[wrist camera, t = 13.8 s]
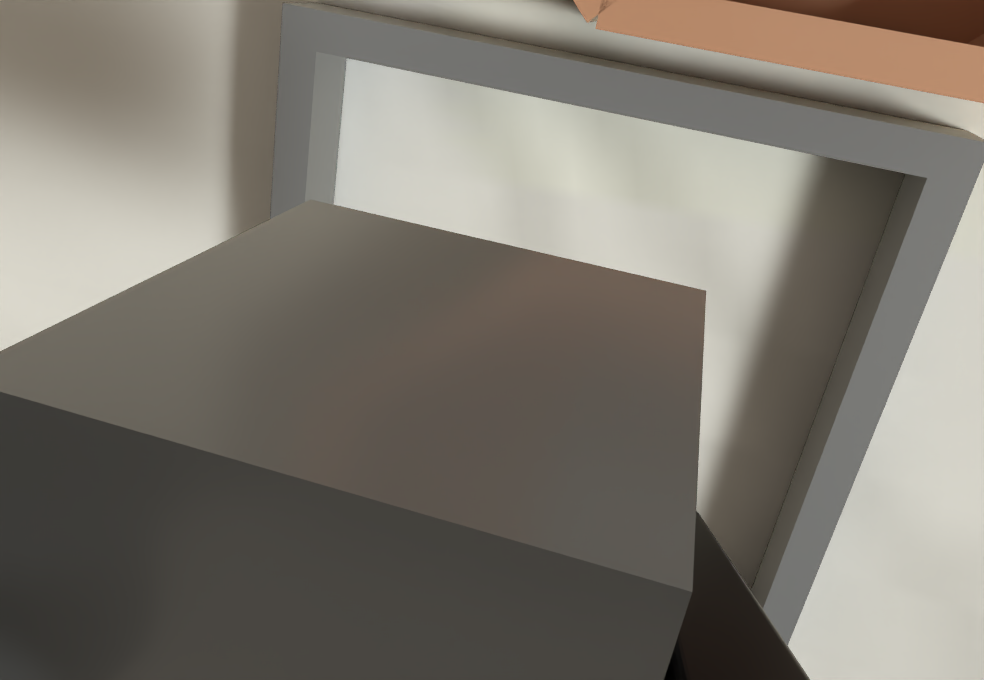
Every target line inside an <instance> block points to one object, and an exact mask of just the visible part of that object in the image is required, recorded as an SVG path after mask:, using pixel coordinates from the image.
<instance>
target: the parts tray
mask: <svg viewBox="0 0 984 680" xmlns="http://www.w3.org/2000/svg"><path fill="white" fill-rule="evenodd" d="M346 58H349V59H354V60H359V61H364V62H369V63H374V64H378V65H383V66H388V67H393V68H398V69H403V70H407V71H412V72H417V73H422V74H427V75H432V76H436V77H441V78H446V79H451V80H456V81H461V82H465V83H470V84H475V85H480V86H485V87H490V88H494V89H499V90H504V91H509V92H514V93H519V94H523V95H528V96H533V97H538V98H543V99H548V100H552V101H557V102H562V103H567V104H572V105H577V106H581V107H586V108H591V109H596V110H601V111H605V112H610V113H615V114H620V115H625V116H630V117H634V118H639V119H644V120H649V121H654V122H659V123H663V124H668V125H673V126H678V127H683V128H688V129H692V130H697V131H702V132H707V133H712V134H717V135H721V136H726V137H731V138H736V139H741V140H746V141H750V142H755V143H760V144H765V145H770V146H775V147H779V148H784V149H789V150H794V151H799V152H804V153H808V154H813V155H818V156H823V157H828V158H833V159H837V160H842V161H847V162H852V163H857V164H862V165H866V166H871V167H876V168H881V169H886V170H891V171H895V172H900V173H905V176H904V179H903V181H902V184H901V187H900V190H899V192H898V195H897V198H896V200H895V203H894V206H893V208H892V211H891V214H890V217H889V219H888V222H887V225H886V227H885V230H884V233H883V235H882V238H881V241H880V244H879V246H878V249H877V252H876V254H875V257H874V260H873V263H872V265H871V268H870V271H869V273H868V276H867V279H866V281H865V284H864V287H863V290H862V292H861V295H860V298H859V300H858V303H857V306H856V308H855V311H854V314H853V317H852V319H851V322H850V325H849V327H848V330H847V333H846V335H845V338H844V341H843V344H842V346H841V349H840V352H839V354H838V357H837V360H836V363H835V365H834V368H833V371H832V373H831V376H830V379H829V381H828V384H827V387H826V390H825V392H824V395H823V398H822V400H821V403H820V406H819V408H818V411H817V414H816V417H815V419H814V422H813V425H812V427H811V430H810V433H809V436H808V438H807V441H806V444H805V446H804V449H803V452H802V454H801V457H800V460H799V463H798V465H797V468H796V471H795V473H794V476H793V479H792V481H791V484H790V487H789V490H788V492H787V495H786V498H785V500H784V503H783V506H782V508H781V511H780V514H779V517H778V519H777V522H776V525H775V527H774V530H773V533H772V536H771V538H770V541H769V544H768V546H767V549H766V552H765V554H764V557H763V560H762V563H761V565H760V568H759V571H758V573H757V576H756V579H755V581H754V584H753V587H752V590H751V592H752V594H753V595H754V597H755V598H756V600H757V601H758V603H759V604H760V606H761V607H762V609H763V610H764V612H765V613H766V615H767V616H768V618H769V619H770V621H771V622H772V624H773V625H774V627H775V628H776V629H777V631H778V632H779V634H780V635H781V637H782V638H783V640H784V641H785V643H786V644H787V645H788V643H789V641H790V638H791V636H792V633H793V631H794V628H795V626H796V623H797V621H798V618H799V616H800V613H801V611H802V609H803V606H804V604H805V601H806V599H807V596H808V594H809V591H810V589H811V586H812V584H813V581H814V579H815V577H816V574H817V572H818V569H819V567H820V564H821V562H822V559H823V557H824V554H825V552H826V549H827V547H828V545H829V542H830V540H831V537H832V535H833V532H834V530H835V527H836V525H837V522H838V520H839V517H840V515H841V513H842V510H843V508H844V505H845V503H846V500H847V498H848V495H849V493H850V490H851V488H852V485H853V483H854V481H855V478H856V476H857V473H858V471H859V468H860V466H861V463H862V461H863V458H864V456H865V453H866V451H867V449H868V446H869V444H870V441H871V439H872V436H873V434H874V431H875V429H876V426H877V424H878V421H879V419H880V417H881V414H882V412H883V409H884V407H885V404H886V402H887V399H888V397H889V394H890V392H891V389H892V387H893V385H894V382H895V380H896V377H897V375H898V372H899V370H900V367H901V365H902V362H903V360H904V357H905V355H906V353H907V350H908V348H909V345H910V343H911V340H912V338H913V335H914V333H915V330H916V328H917V325H918V323H919V321H920V318H921V316H922V313H923V311H924V308H925V306H926V303H927V301H928V298H929V296H930V293H931V291H932V289H933V286H934V284H935V281H936V279H937V276H938V274H939V271H940V269H941V266H942V264H943V261H944V259H945V257H946V254H947V252H948V249H949V247H950V244H951V242H952V239H953V237H954V234H955V232H956V229H957V227H958V225H959V222H960V220H961V217H962V215H963V212H964V210H965V207H966V205H967V202H968V200H969V197H970V195H971V193H972V190H973V188H974V185H975V183H976V180H977V178H978V175H979V173H980V170H981V168H982V165H983V163H984V139H982V138H980V137H978V136H976V135H975V134H973V133H971V132H969V131H966V130H961V129H956V128H951V127H946V126H941V125H936V124H931V123H925V122H920V121H915V120H910V119H905V118H900V117H895V116H890V115H885V114H880V113H875V112H870V111H865V110H859V109H854V108H849V107H844V106H839V105H834V104H829V103H824V102H819V101H814V100H809V99H804V98H799V97H793V96H788V95H783V94H778V93H773V92H768V91H763V90H758V89H753V88H748V87H743V86H738V85H732V84H727V83H722V82H717V81H712V80H707V79H702V78H697V77H692V76H687V75H682V74H677V73H672V72H666V71H661V70H656V69H651V68H646V67H641V66H636V65H631V64H626V63H621V62H616V61H611V60H606V59H600V58H595V57H590V56H585V55H580V54H575V53H570V52H565V51H560V50H555V49H550V48H545V47H540V46H534V45H529V44H524V43H519V42H514V41H509V40H504V39H499V38H494V37H489V36H484V35H479V34H473V33H468V32H463V31H458V30H453V29H448V28H443V27H438V26H433V25H428V24H423V23H418V22H413V21H407V20H402V19H397V18H392V17H387V16H382V15H377V14H372V13H367V12H362V11H357V10H352V9H347V8H341V7H336V6H331V5H326V4H321V3H283V7H282V24H281V41H280V58H279V75H278V92H277V109H276V126H275V143H274V160H273V177H272V194H271V211H270V219H272V218H274V217H276V216H278V215H280V214H282V213H284V212H286V211H288V210H290V209H292V208H294V207H296V206H298V205H300V204H302V203H304V202H306V201H308V200H310V199H311V200H315V201H319V202H324V203H328V204H332V205H333V202H334V191H335V180H336V169H337V158H338V147H339V135H340V124H341V113H342V102H343V91H344V80H345V69H346Z"/></svg>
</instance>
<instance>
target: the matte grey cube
mask: <svg viewBox="0 0 984 680" xmlns="http://www.w3.org/2000/svg"><path fill="white" fill-rule="evenodd" d="M705 303H706V291H704V290H700V289H696V288H691V287H687V286H683V285H678V284H674V283H670V282H665V281H661V280H657V279H652V278H648V277H644V276H639V275H635V274H631V273H626V272H622V271H618V270H613V269H609V268H605V267H601V266H596V265H592V264H588V263H583V262H579V261H575V260H570V259H566V258H562V257H557V256H553V255H549V254H544V253H540V252H536V251H531V250H527V249H523V248H518V247H514V246H510V245H505V244H501V243H497V242H492V241H488V240H484V239H479V238H475V237H471V236H466V235H462V234H458V233H453V232H449V231H445V230H440V229H436V228H432V227H427V226H423V225H419V224H414V223H410V222H406V221H402V220H397V219H393V218H389V217H384V216H380V215H376V214H371V213H367V212H363V211H358V210H354V209H350V208H345V207H341V206H337V205H332V204H328V203H324V202H319V201H315V200H311V199H310V200H308V201H306V202H304V203H302V204H300V205H298V206H296V207H294V208H292V209H290V210H288V211H286V212H284V213H282V214H280V215H278V216H276V217H274V218H272V219H270V220H268V221H266V222H264V223H261V224H259V225H257V226H255V227H253V228H251V229H249V230H247V231H245V232H243V233H241V234H239V235H237V236H235V237H233V238H231V239H229V240H227V241H225V242H223V243H221V244H219V245H217V246H215V247H212V248H210V249H208V250H206V251H204V252H202V253H200V254H198V255H196V256H194V257H192V258H190V259H188V260H186V261H184V262H182V263H180V264H178V265H176V266H174V267H172V268H170V269H168V270H166V271H163V272H161V273H159V274H157V275H155V276H153V277H151V278H149V279H147V280H145V281H143V282H141V283H139V284H137V285H135V286H133V287H131V288H129V289H127V290H125V291H123V292H121V293H119V294H117V295H115V296H112V297H110V298H108V299H106V300H104V301H102V302H100V303H98V304H96V305H94V306H92V307H90V308H88V309H86V310H84V311H82V312H80V313H78V314H76V315H74V316H72V317H70V318H68V319H66V320H63V321H61V322H59V323H57V324H55V325H53V326H51V327H49V328H47V329H45V330H43V331H41V332H39V333H37V334H35V335H33V336H31V337H29V338H27V339H25V340H23V341H21V342H19V343H17V344H14V345H12V346H10V347H8V348H6V349H4V350H2V351H0V680H664V677H665V674H666V671H667V668H668V665H669V662H670V659H671V656H672V653H673V650H674V647H675V644H676V641H677V638H678V635H679V631H680V628H681V625H682V622H683V619H684V616H685V613H686V610H687V607H688V604H689V601H690V598H691V595H692V589H693V567H694V545H695V523H696V501H697V479H698V457H699V435H700V413H701V391H702V369H703V347H704V325H705Z"/></svg>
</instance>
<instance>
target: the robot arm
mask: <svg viewBox="0 0 984 680" xmlns="http://www.w3.org/2000/svg"><path fill="white" fill-rule="evenodd" d="M664 680H810V679H809V677H808V676H807V674H806V673H805V671H804V670H803V668H802V667H801V665H800V664H799V662H798V661H797V659H796V658H795V656H794V655H793V653H792V652H791V650H790V649H789V647H788V646H787V644H786V643H785V641H784V640H783V638H782V637H781V635H780V634H779V632H778V631H777V629H776V628H775V627H774V625H773V624H772V622H771V621H770V619H769V618H768V616H767V615H766V613H765V612H764V610H763V609H762V607H761V606H760V604H759V603H758V601H757V600H756V598H755V597H754V595H753V594H752V592H751V591H750V589H749V588H748V586H747V585H746V583H745V582H744V580H743V579H742V577H741V576H740V574H739V573H738V571H737V570H736V568H735V567H734V565H733V564H732V562H731V561H730V559H729V558H728V556H727V555H726V553H725V552H724V550H723V549H722V547H721V546H720V544H719V543H718V541H717V540H716V538H715V537H714V536H713V534H712V533H711V531H710V530H709V528H708V527H707V525H706V524H705V522H704V521H703V519H702V518H701V516H700V515H699V513H698V512H697V511H696V523H695V545H694V567H693V589H692V595H691V598H690V601H689V604H688V607H687V610H686V613H685V616H684V619H683V622H682V625H681V628H680V631H679V635H678V638H677V641H676V644H675V647H674V650H673V653H672V656H671V659H670V662H669V665H668V668H667V671H666V674H665V677H664Z"/></svg>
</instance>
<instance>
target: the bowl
mask: <svg viewBox="0 0 984 680" xmlns="http://www.w3.org/2000/svg"><path fill="white" fill-rule="evenodd" d="M573 1H574V2H575V4H576V6H577V7H578V9H579V11H580V12H581V14H582V15H583V17H584V19H585V20H586V22H587V23H589V22H594V21H597V24H596V29H599V30H605V31H610V32H615V33H620V34H626V35H631V36H636V37H641V38H646V39H652V40H657V41H662V42H667V43H673V44H678V45H683V46H688V47H693V48H699V49H704V50H709V51H714V52H720V53H725V54H730V55H735V56H740V57H746V58H751V59H756V60H761V61H767V62H772V63H777V64H782V65H788V66H793V67H798V68H803V69H808V70H814V71H819V72H824V73H829V74H835V75H840V76H845V77H850V78H855V79H861V80H866V81H871V82H876V83H882V84H887V85H892V86H897V87H902V88H908V89H913V90H918V91H923V92H929V93H934V94H939V95H944V96H950V97H955V98H960V99H965V100H970V101H976V102H981V103H984V0H573Z"/></svg>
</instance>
